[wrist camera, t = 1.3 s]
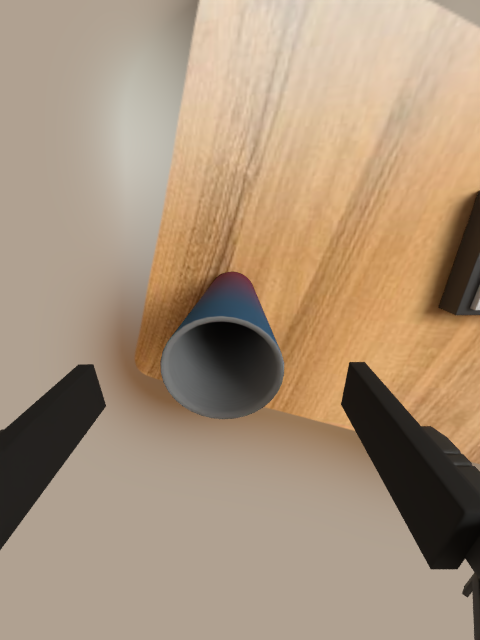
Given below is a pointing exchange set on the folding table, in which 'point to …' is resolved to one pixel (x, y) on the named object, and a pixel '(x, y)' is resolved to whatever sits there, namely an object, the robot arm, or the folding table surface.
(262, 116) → the folding table surface
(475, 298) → the scale
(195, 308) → the cup
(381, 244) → the folding table surface
